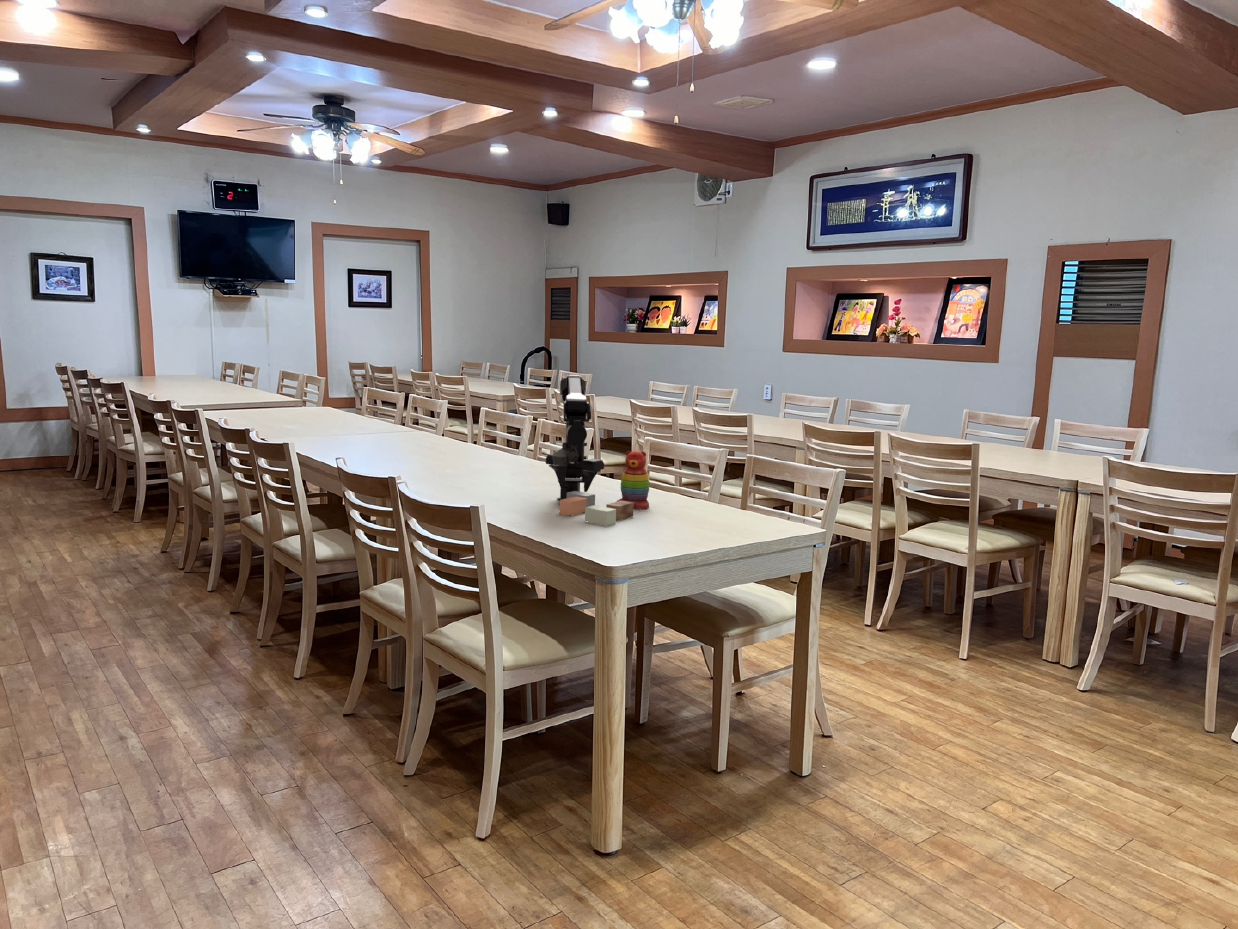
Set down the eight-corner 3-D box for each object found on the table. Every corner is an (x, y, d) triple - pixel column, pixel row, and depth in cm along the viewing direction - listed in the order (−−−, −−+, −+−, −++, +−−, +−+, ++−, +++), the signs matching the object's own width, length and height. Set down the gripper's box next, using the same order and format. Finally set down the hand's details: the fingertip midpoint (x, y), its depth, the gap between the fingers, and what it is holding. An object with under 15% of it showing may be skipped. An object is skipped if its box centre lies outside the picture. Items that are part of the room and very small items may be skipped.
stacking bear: (613, 506, 281) (615, 451, 278) (622, 501, 290) (624, 448, 288) (645, 510, 278) (648, 454, 275) (653, 504, 287) (656, 450, 284)
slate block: (566, 506, 279) (566, 492, 279) (575, 504, 283) (575, 490, 282) (586, 510, 275) (586, 496, 274) (594, 508, 278) (595, 494, 278)
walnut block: (621, 514, 270) (621, 500, 269) (633, 517, 267) (633, 502, 267) (605, 519, 263) (606, 504, 263) (618, 521, 261) (618, 506, 260)
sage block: (584, 522, 258) (585, 507, 257) (593, 520, 261) (594, 505, 261) (606, 526, 253) (607, 511, 252) (615, 524, 257) (616, 509, 256)
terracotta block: (575, 510, 274) (575, 496, 273) (586, 512, 271) (587, 498, 271) (559, 514, 267) (559, 499, 267) (570, 516, 265) (571, 502, 264)
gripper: (534, 438, 264) (533, 489, 267) (583, 445, 254) (581, 497, 256) (557, 435, 273) (556, 484, 276) (606, 441, 263) (604, 492, 265)
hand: (573, 489), depth 268 cm, fingers open, 9 cm apart
